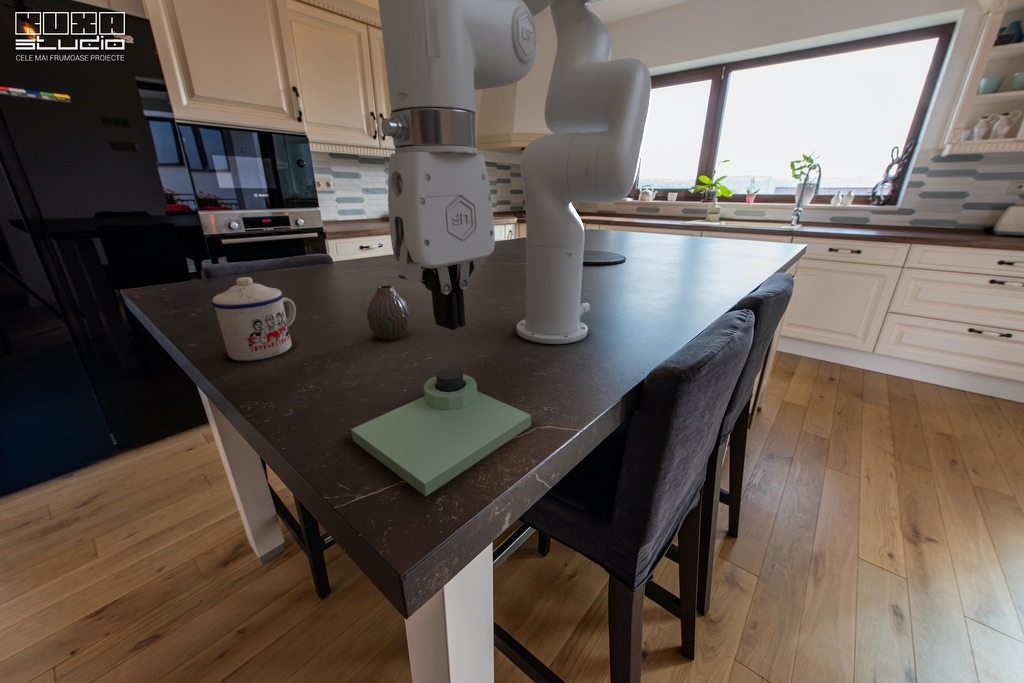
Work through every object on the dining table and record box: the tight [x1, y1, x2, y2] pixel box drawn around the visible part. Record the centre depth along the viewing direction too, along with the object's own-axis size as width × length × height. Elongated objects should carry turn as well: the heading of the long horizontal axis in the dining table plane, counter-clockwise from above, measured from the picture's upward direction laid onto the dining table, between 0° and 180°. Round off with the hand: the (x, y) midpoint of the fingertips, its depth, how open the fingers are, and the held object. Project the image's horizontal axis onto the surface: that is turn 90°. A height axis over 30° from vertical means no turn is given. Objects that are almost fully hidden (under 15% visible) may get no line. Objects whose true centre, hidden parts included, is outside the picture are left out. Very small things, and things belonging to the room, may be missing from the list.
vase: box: [366, 284, 411, 341], centre depth 67 cm, size 7×7×9 cm
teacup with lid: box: [211, 276, 297, 362], centre depth 62 cm, size 12×9×12 cm
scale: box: [350, 373, 532, 497], centre depth 41 cm, size 14×12×3 cm
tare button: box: [435, 367, 464, 392], centre depth 45 cm, size 3×3×2 cm
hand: (450, 325), depth 43 cm, fingers closed
